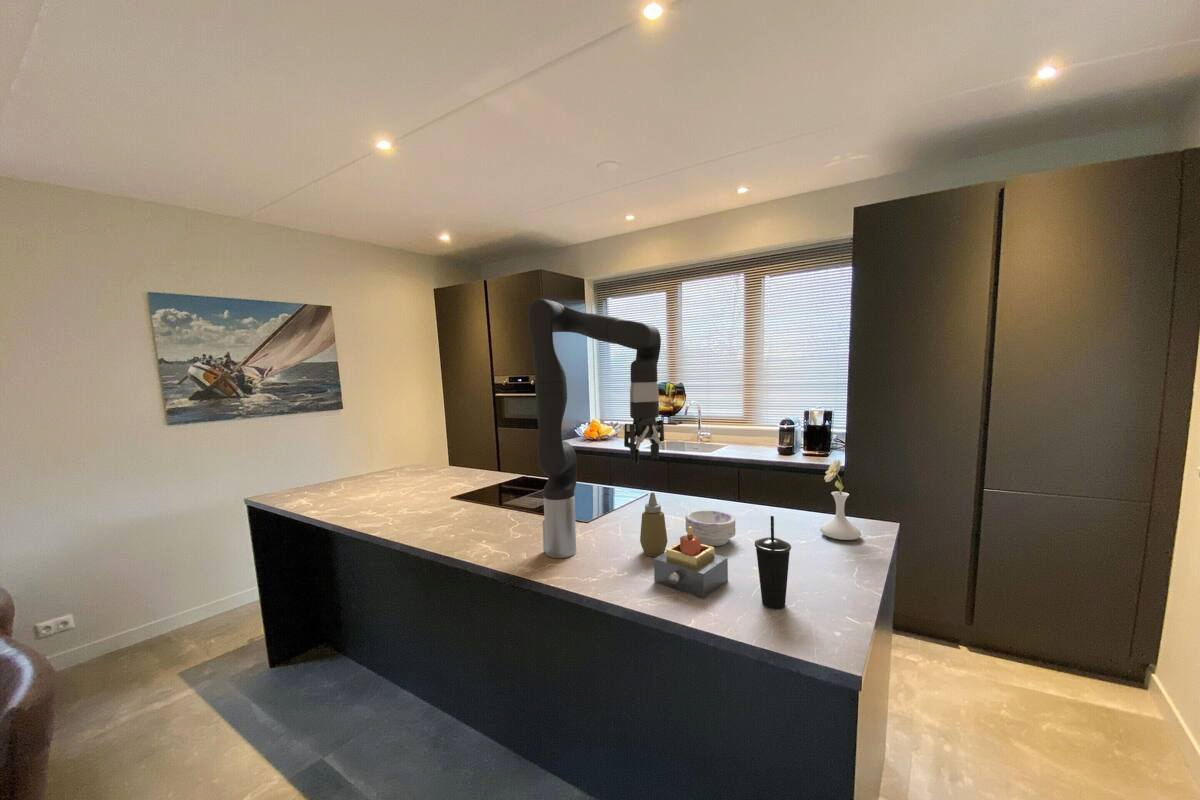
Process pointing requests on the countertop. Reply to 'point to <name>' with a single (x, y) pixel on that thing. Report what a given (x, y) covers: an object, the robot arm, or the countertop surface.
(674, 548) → the grey drawer box
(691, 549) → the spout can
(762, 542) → the drinking cup
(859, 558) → the countertop surface
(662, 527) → the squeeze bottle
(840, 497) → the flower in vase
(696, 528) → the paper bowls
